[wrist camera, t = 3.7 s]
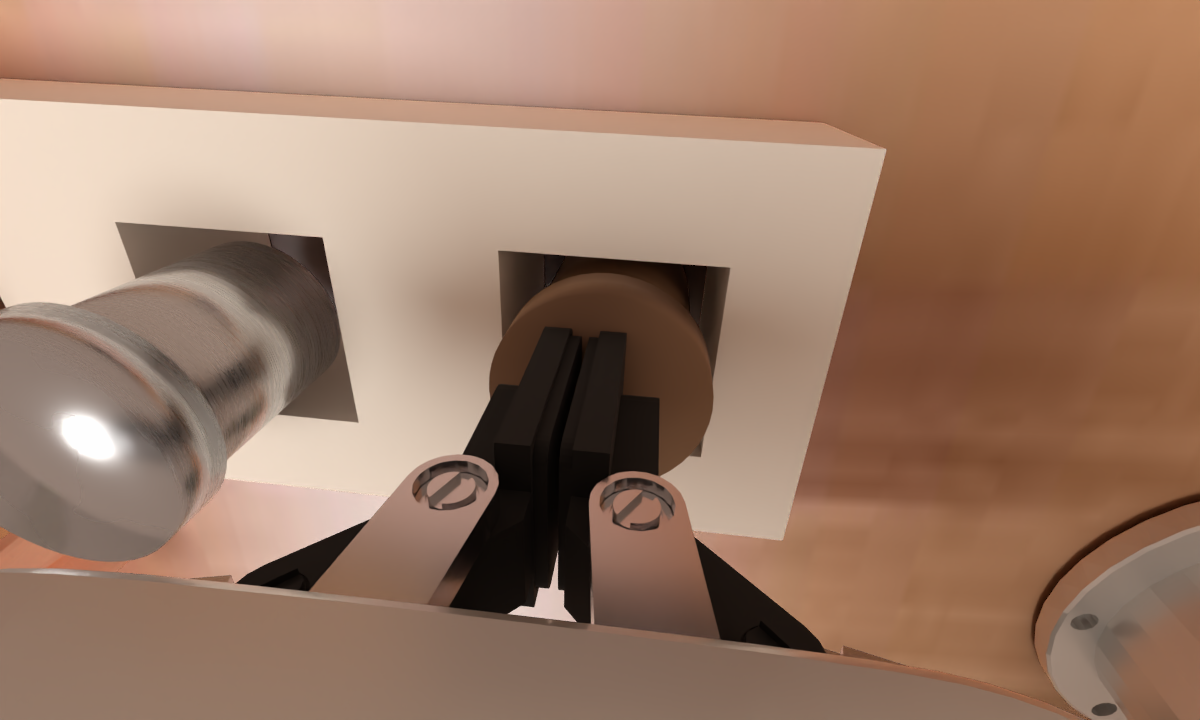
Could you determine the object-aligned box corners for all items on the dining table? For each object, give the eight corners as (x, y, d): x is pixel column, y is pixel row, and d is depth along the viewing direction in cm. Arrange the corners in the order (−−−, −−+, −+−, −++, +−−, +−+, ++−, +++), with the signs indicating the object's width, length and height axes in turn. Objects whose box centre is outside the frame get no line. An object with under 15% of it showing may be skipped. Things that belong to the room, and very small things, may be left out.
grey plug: (336, 233, 13) (118, 346, 8) (366, 401, 16) (212, 575, 10) (151, 219, 14) (-171, 320, 8) (207, 385, 16) (-22, 546, 11)
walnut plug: (710, 222, 16) (729, 304, 11) (690, 369, 18) (698, 497, 13) (543, 211, 16) (482, 284, 11) (545, 356, 18) (494, 475, 13)
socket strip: (823, 122, 15) (887, 149, 11) (757, 433, 20) (782, 540, 15) (-125, 71, 17) (-400, 75, 13) (21, 361, 22) (-142, 438, 17)
